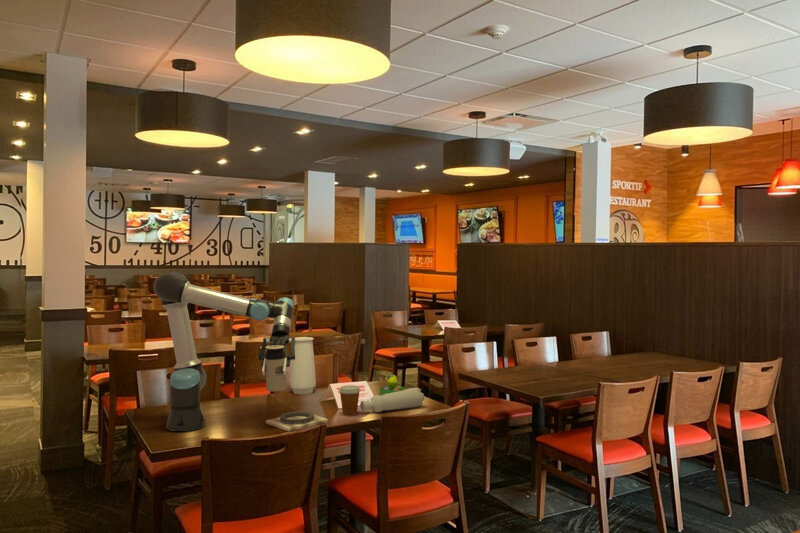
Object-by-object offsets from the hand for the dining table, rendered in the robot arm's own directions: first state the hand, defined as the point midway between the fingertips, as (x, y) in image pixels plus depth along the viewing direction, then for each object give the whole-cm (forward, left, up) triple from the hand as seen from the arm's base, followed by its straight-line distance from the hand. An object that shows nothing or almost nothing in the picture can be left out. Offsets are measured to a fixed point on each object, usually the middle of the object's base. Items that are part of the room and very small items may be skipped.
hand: (274, 373), depth 252 cm
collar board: (+12, +1, -23) cm, 26 cm away
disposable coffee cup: (+37, -4, -23) cm, 44 cm away
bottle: (+56, -12, -24) cm, 61 cm away
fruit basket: (+71, +4, -24) cm, 75 cm away
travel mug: (+3, +2, -8) cm, 9 cm away
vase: (+47, +46, -23) cm, 70 cm away
